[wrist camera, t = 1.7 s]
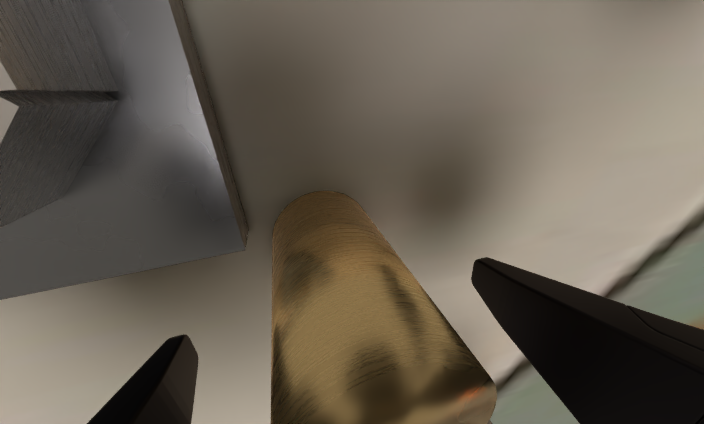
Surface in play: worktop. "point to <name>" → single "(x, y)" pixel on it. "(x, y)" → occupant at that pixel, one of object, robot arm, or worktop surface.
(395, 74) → the worktop surface
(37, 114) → the manifold
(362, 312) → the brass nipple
